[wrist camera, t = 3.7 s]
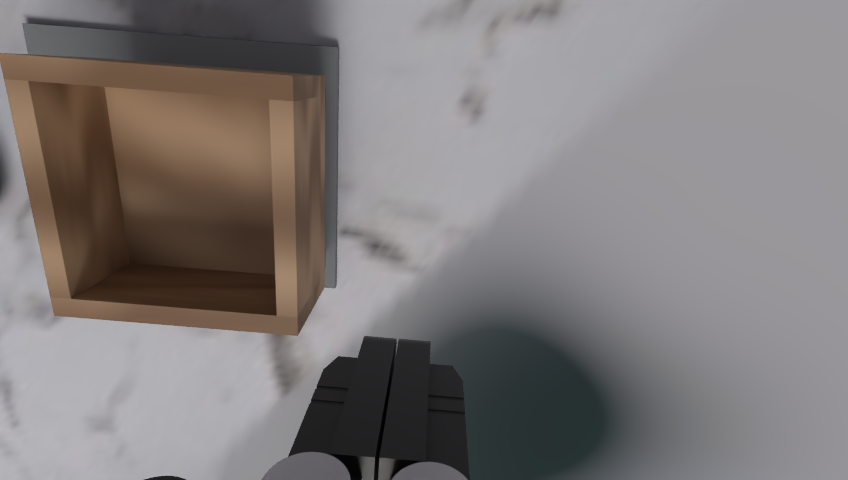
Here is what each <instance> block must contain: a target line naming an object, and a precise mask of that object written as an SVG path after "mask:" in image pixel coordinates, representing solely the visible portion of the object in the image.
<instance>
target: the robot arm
mask: <svg viewBox="0 0 848 480" xmlns="http://www.w3.org/2000/svg"><path fill="white" fill-rule="evenodd" d="M396 342H397V340H396V339H393V338H382V337H370V336H364V339H363V342H362V345H361V349H360V352H359V355H358V358H351V357H340V356H338V357H337V358H336V359H335V360H334V361H333V362H331V363H330V364H329V365H328V366H327V367H326V368H325V369H323V372H322V374H321V377H320V379H319V382H318V384H317V389H315V392H314V394H313V397H312V399H311V403H310V404H309V407H308V409H307V411H306V414H305V416H304V419H303V421H302V424H301V426H300V429H299V431H298V434H297V437H296V439H295V441H294V444H293V446H292V449H291V451H290V453H289V456H288V457H287V458H284V459H283V460H281V461H279V462H278V463H276V464H275V465H274V466H273V467H272V468H270V469H269V470H268V472H267V473H266V474H265V475H264V477H263V478H262V480H470V475H469V466H468V450H467V436H466V421H465V407H464V392H463V381H462V379H461V378H460V376H459V375H458V374H457V372H456V370H455V369H454V367H453V366H449V365H437V364H436V365H435V364H430V341H420V340H408V339H399V341H398V348H397V353H396V344H397V343H396ZM145 480H186V479H183V478H180V477H175V476H159V477H153V478H149V479H145Z"/></svg>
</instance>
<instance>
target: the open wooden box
mask: <svg viewBox="0 0 848 480" xmlns="http://www.w3.org/2000/svg"><path fill="white" fill-rule="evenodd" d="M0 62H1V67H2V72H3V76H4V81H5V86H6V90H7V95H8V100H9V105H10V109H11V114H12V119H13V123H14V128H15V133H16V138H17V142H18V147H19V152H20V156H21V161H22V166H23V171H24V175H25V180H26V185H27V189H28V194H29V199H30V204H31V208H32V213H33V218H34V222H35V227H36V232H37V237H38V241H39V246H40V251H41V255H42V260H43V265H44V270H45V274H46V279H47V284H48V288H49V293H50V298H51V302H52V307H53V312H54V316H65V317H77V318H89V319H101V320H113V321H126V322H138V323H150V324H162V325H174V326H186V327H198V328H210V329H223V330H235V331H247V332H259V333H271V334H283V335H295V336H298V334H299V333H300V331H301V329H302V327H303V325H304V324H305V322H306V320H307V318H308V316H309V314H310V313H311V311H312V309H313V307H314V305H315V304H316V302H317V300H318V298H319V296H320V295H321V293H322V291H323V289H324V287H325V109H326V86H325V75H313V74H300V73H287V72H274V71H261V70H248V69H235V68H222V67H209V66H196V65H183V64H170V63H157V62H144V61H131V60H118V59H106V58H91V57H70V56H50V55H29V54H8V53H0Z"/></svg>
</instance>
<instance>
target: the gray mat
mask: <svg viewBox="0 0 848 480" xmlns="http://www.w3.org/2000/svg"><path fill="white" fill-rule="evenodd" d="M22 24H23V30H24V35H25V40H26V45H27V50H28V54H29V55H50V56H70V57H91V58H106V59H118V60H131V61H144V62H157V63H170V64H183V65H196V66H209V67H222V68H235V69H248V70H261V71H274V72H287V73H300V74H313V75H325V86H326V109H325V287H326V288H335V287H336V275H337V188H338V101H339V47H329V46H315V45H302V44H289V43H276V42H263V41H250V40H237V39H224V38H211V37H198V36H184V35H171V34H158V33H145V32H132V31H119V30H106V29H93V28H80V27H67V26H53V25H40V24H27V23H22Z"/></svg>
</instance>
